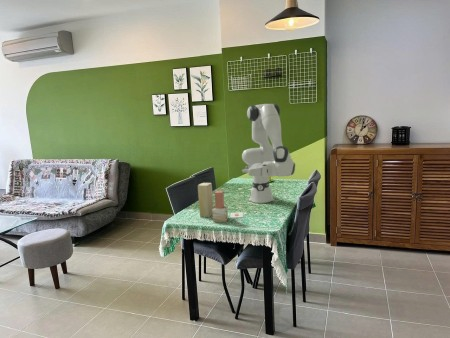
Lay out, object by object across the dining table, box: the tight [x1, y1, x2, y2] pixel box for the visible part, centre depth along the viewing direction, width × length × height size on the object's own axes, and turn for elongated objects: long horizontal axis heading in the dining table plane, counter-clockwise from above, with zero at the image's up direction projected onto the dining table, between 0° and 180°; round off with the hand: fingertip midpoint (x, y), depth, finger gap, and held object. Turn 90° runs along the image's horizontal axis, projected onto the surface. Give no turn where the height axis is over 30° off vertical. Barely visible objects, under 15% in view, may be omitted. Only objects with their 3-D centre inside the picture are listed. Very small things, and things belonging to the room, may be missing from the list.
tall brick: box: [213, 190, 225, 209], centre depth 209 cm, size 4×4×10 cm
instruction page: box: [229, 211, 244, 219], centre depth 219 cm, size 10×8×1 cm
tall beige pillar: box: [197, 182, 214, 218], centre depth 220 cm, size 8×7×21 cm
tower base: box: [212, 205, 229, 223], centre depth 211 cm, size 8×8×8 cm
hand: (243, 169), depth 202 cm, fingers open, 8 cm apart
